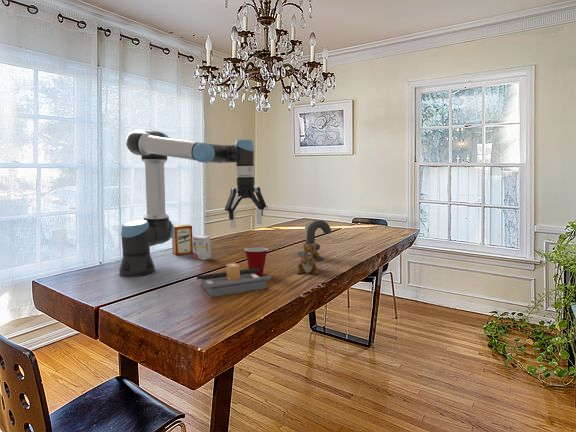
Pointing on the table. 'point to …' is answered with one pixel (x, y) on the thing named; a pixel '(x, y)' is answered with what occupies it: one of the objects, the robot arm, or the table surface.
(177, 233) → the orange cardboard box
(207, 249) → the ink box
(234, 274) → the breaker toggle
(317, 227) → the faucet
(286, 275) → the table surface
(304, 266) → the stuffed squirrel
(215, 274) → the grey tray
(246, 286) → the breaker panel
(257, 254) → the plastic cup
